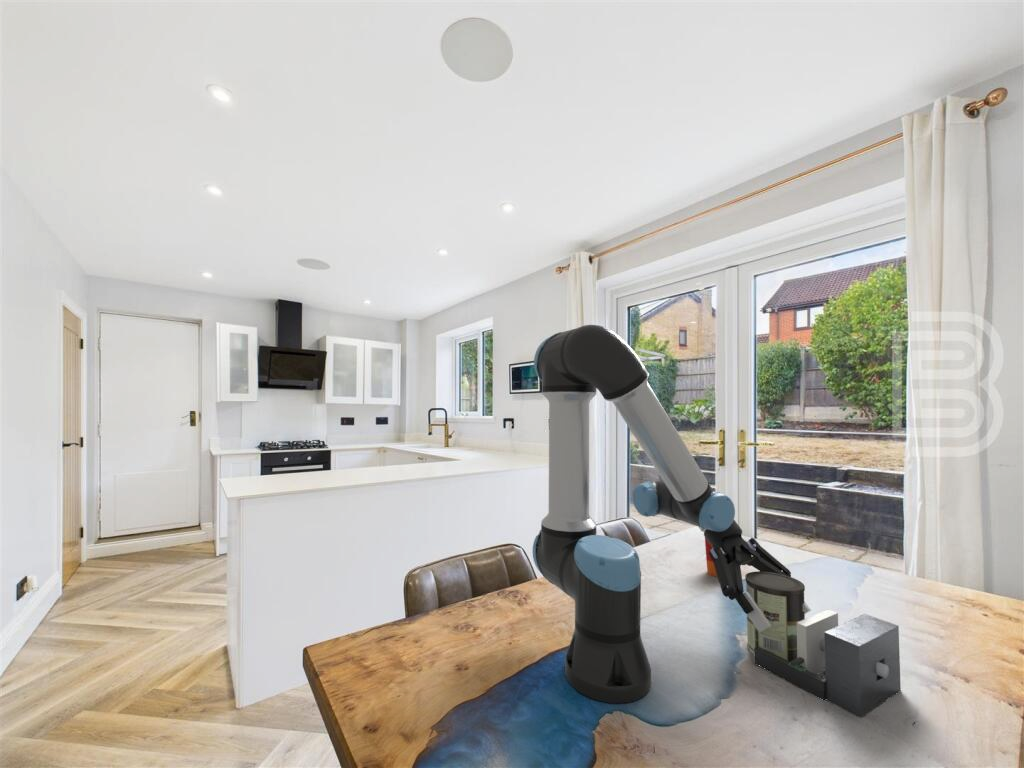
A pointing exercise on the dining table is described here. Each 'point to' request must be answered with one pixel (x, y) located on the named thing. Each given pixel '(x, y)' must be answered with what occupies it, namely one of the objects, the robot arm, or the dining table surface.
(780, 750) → the dining table surface
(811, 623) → the pressure pad
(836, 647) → the frame
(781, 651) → the coffee can
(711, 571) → the paper cup
